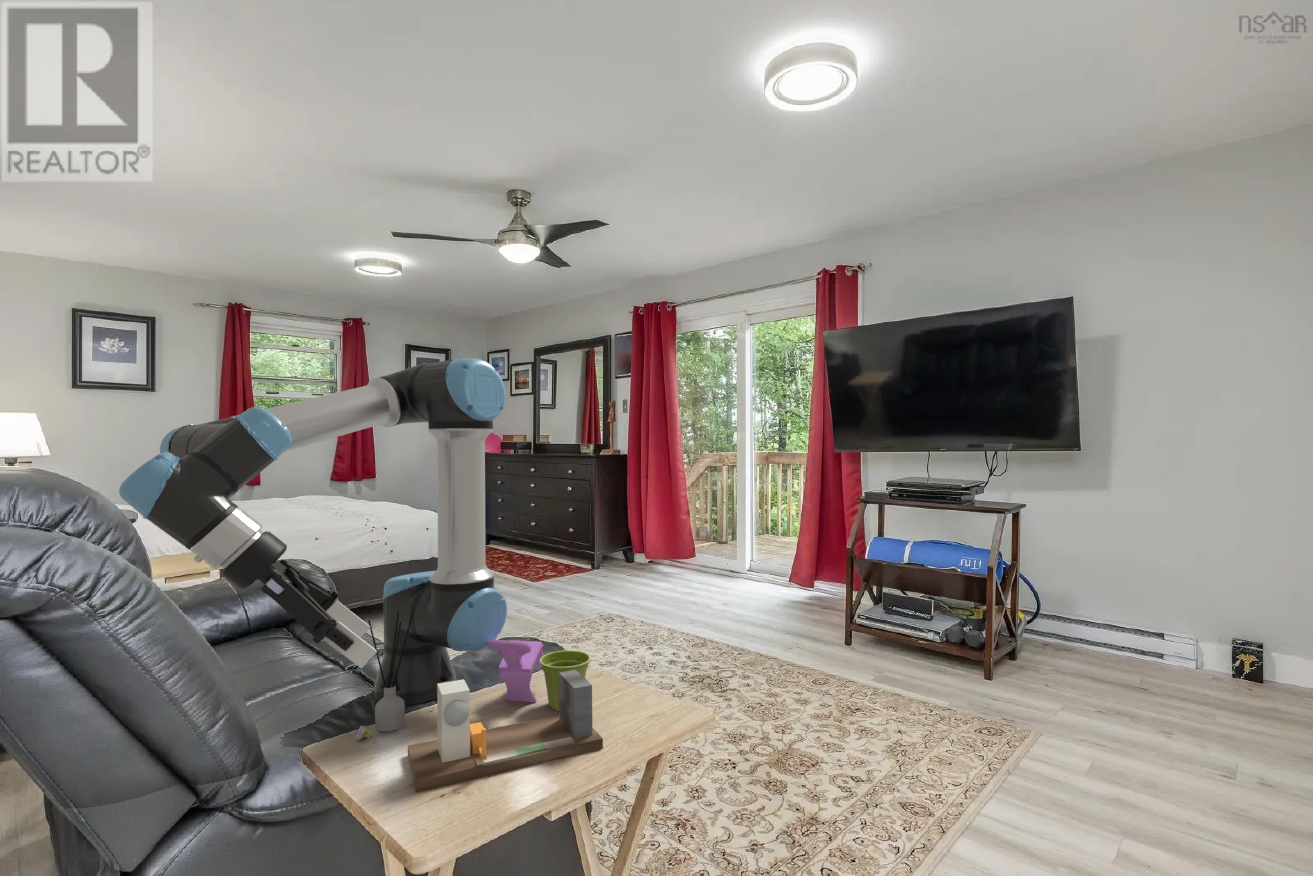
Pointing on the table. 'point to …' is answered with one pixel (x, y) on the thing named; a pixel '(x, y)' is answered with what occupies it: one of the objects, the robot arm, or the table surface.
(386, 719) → the reed diffuser
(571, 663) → the plant pot
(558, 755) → the gauge board
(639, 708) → the table surface
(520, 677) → the toy chair
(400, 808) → the table surface
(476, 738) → the orange l-shaped piece
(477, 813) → the table surface
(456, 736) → the block
